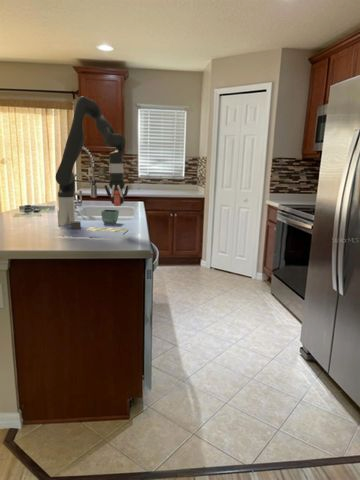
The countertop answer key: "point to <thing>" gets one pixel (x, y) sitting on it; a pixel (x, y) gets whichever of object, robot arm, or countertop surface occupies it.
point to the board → (107, 229)
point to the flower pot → (110, 216)
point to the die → (75, 224)
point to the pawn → (117, 198)
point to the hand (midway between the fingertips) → (117, 203)
